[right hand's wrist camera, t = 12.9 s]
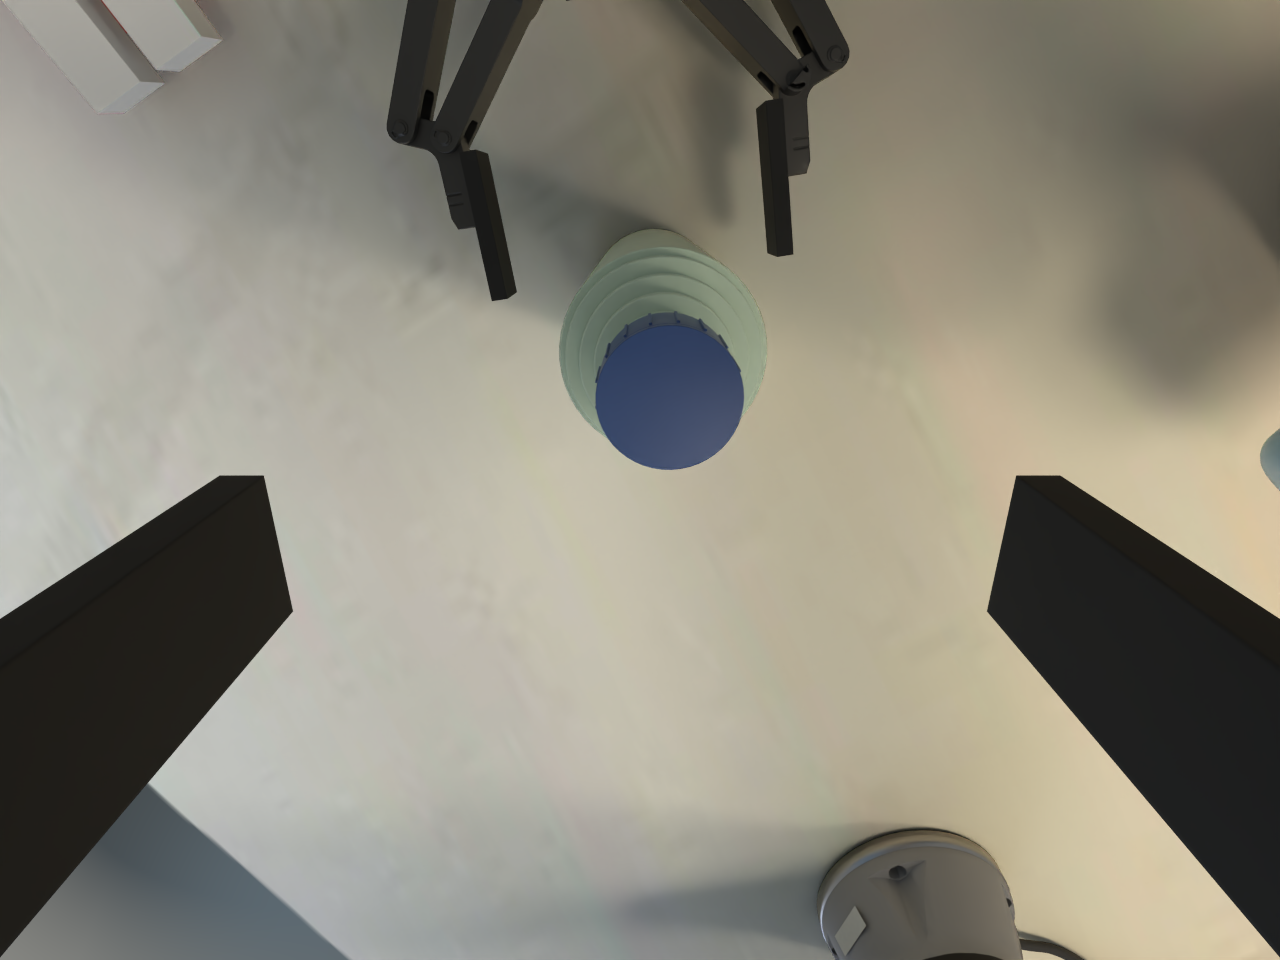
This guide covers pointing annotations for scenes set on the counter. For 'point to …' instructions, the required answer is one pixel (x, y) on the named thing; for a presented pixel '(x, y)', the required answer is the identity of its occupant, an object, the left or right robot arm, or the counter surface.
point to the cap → (668, 391)
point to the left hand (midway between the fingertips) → (641, 276)
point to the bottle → (657, 309)
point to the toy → (117, 43)
